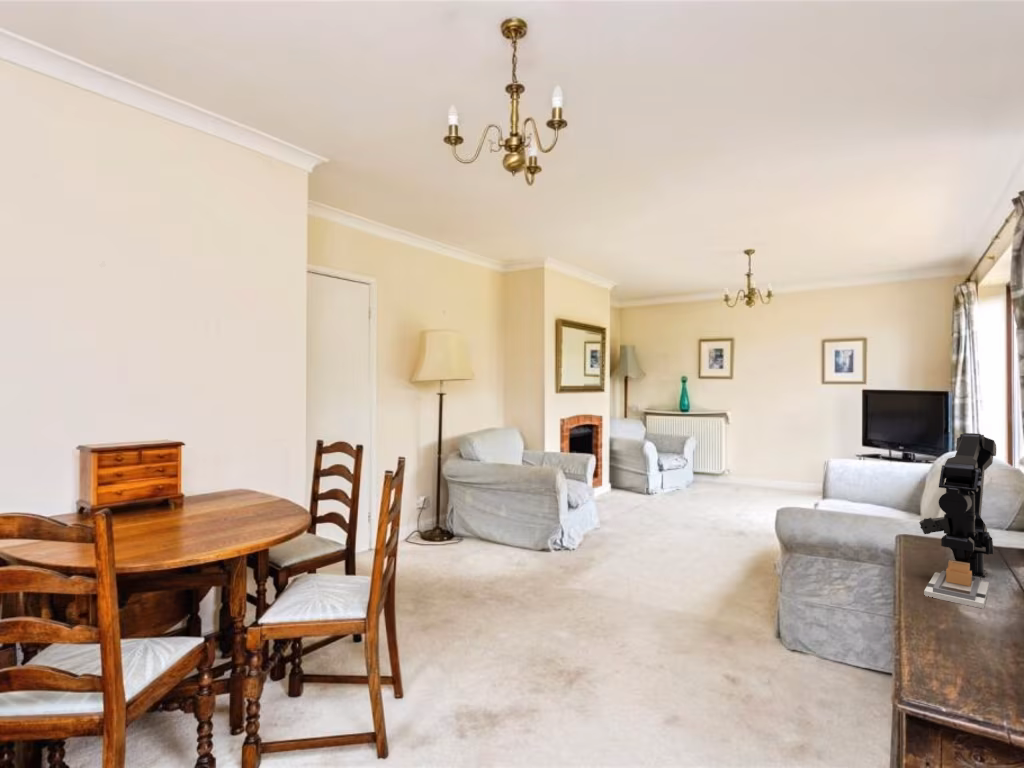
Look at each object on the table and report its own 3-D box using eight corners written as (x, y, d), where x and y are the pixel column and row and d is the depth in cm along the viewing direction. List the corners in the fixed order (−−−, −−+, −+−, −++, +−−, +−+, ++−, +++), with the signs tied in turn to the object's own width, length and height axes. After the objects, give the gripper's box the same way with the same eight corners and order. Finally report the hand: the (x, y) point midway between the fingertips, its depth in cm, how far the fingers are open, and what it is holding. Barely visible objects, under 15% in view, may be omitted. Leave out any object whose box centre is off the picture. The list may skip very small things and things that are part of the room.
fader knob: (947, 577, 142) (948, 558, 142) (971, 582, 139) (971, 562, 139) (946, 581, 139) (946, 561, 139) (970, 586, 136) (970, 566, 136)
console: (935, 576, 147) (935, 568, 147) (988, 587, 139) (988, 578, 139) (924, 595, 133) (924, 586, 133) (983, 608, 125) (983, 599, 125)
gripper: (927, 501, 154) (926, 556, 154) (916, 510, 141) (916, 570, 140) (978, 507, 146) (978, 565, 146) (973, 517, 133) (972, 581, 133)
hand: (960, 570), depth 141 cm, fingers closed
